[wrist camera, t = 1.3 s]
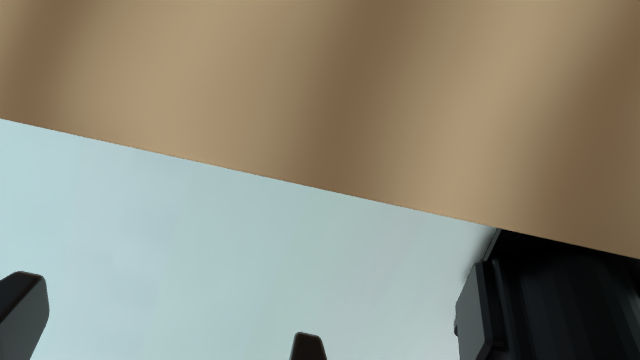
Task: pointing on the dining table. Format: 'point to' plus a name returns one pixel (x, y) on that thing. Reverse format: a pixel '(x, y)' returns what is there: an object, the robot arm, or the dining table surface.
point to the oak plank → (359, 98)
